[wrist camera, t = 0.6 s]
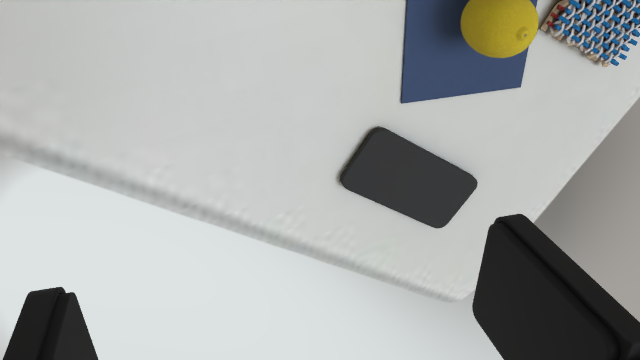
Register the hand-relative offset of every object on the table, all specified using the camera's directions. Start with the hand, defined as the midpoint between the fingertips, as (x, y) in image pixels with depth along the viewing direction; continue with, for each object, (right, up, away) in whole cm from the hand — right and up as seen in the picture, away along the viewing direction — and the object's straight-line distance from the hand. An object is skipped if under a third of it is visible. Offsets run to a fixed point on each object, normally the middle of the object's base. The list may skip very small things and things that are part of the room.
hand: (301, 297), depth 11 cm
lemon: (+14, +18, +33) cm, 40 cm away
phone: (+10, +3, +41) cm, 43 cm away
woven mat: (+28, +20, +36) cm, 50 cm away
